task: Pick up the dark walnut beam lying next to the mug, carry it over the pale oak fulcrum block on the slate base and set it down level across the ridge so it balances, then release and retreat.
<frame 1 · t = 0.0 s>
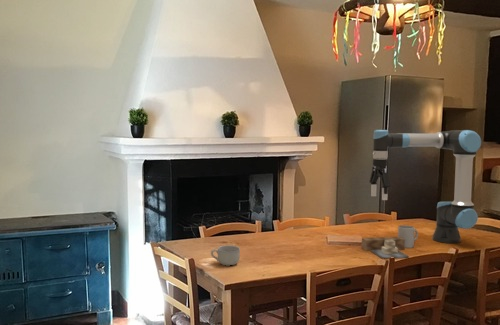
hand: (379, 198, 256), 28 cm above the table, fingers open, 13 cm apart
mug: (408, 246, 265), on the table
teacup: (225, 264, 228), on the table
fulcrum: (389, 254, 246), on the table
beam: (382, 249, 258), on the table
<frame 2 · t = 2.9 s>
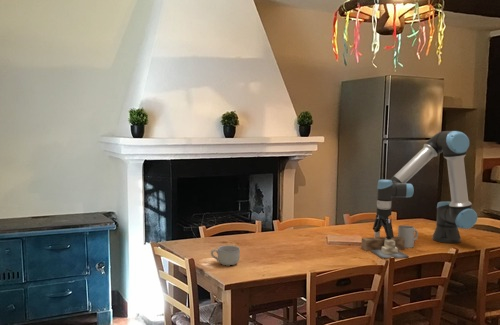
hand: (382, 246, 258), 1 cm above the table, fingers open, 13 cm apart
nothing on the table moved.
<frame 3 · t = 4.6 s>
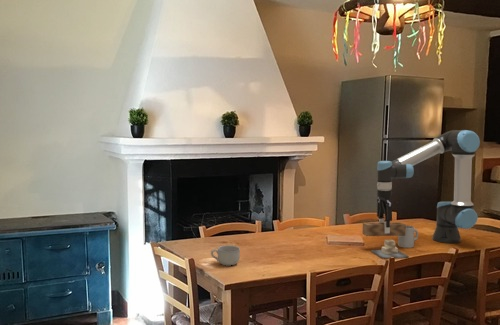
hand: (384, 231, 258), 9 cm above the table, fingers closed on beam, 6 cm apart
beam: (383, 234, 258), point 8 cm above the table, touching gripper
everything else where it was.
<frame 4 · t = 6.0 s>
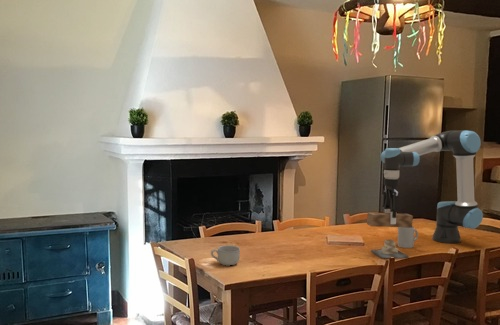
hand: (390, 222, 245), 17 cm above the table, fingers closed on beam, 6 cm apart
beam: (389, 225, 245), point 15 cm above the table, touching gripper
everything else where it was.
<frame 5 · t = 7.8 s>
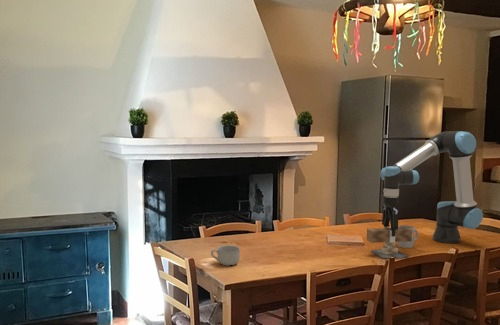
hand: (389, 240, 246), 7 cm above the table, fingers closed on beam, 6 cm apart
beam: (389, 240, 246), point 8 cm above the table, touching fulcrum, gripper
everything else where it was.
when the fingers open (7 cm above the table, at t = 8.1 s): beam stays where it is, resting on fulcrum.
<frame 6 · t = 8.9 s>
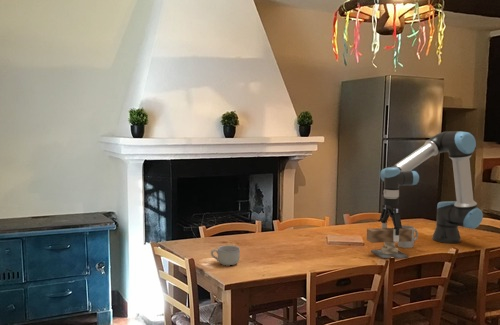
hand: (389, 238, 246), 9 cm above the table, fingers open, 13 cm apart
beam: (389, 240, 246), point 7 cm above the table, touching fulcrum
everything else where it was.
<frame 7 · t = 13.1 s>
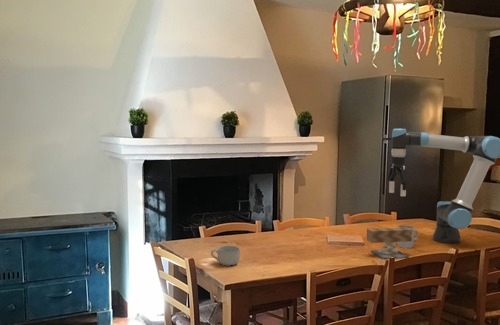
hand: (397, 194, 265), 29 cm above the table, fingers open, 13 cm apart
nothing on the table moved.
at the end: beam 0.5 cm off-centre on the fulcrum, point 7.5 cm above the fulcrum's base; beam tilted 0°; the gripper is holding nothing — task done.
